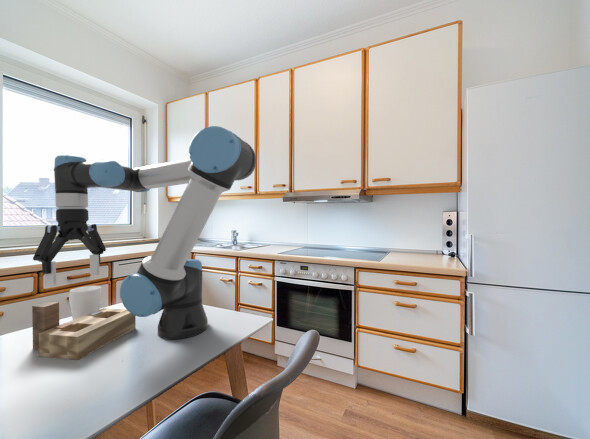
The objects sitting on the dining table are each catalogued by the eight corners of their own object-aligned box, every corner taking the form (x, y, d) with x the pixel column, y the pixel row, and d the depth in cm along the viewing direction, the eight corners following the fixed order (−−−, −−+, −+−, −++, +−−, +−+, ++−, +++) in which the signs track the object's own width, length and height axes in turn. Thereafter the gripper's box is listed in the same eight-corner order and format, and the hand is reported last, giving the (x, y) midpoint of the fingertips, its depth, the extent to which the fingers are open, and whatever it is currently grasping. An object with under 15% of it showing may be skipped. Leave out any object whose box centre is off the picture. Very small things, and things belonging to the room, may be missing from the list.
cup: (84, 329, 88) (84, 293, 88) (62, 327, 90) (61, 291, 90) (108, 319, 97) (108, 286, 97) (87, 317, 99) (87, 284, 99)
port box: (135, 328, 90) (135, 309, 89) (77, 359, 70) (77, 335, 70) (103, 325, 91) (103, 307, 91) (39, 356, 72) (38, 332, 72)
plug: (59, 343, 79) (59, 302, 79) (44, 350, 75) (44, 306, 75) (48, 342, 80) (47, 301, 79) (32, 348, 76) (32, 306, 75)
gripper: (98, 210, 94) (99, 271, 94) (12, 207, 69) (15, 290, 69) (117, 209, 93) (119, 271, 93) (37, 206, 68) (39, 291, 68)
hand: (74, 279), depth 81 cm, fingers open, 13 cm apart
